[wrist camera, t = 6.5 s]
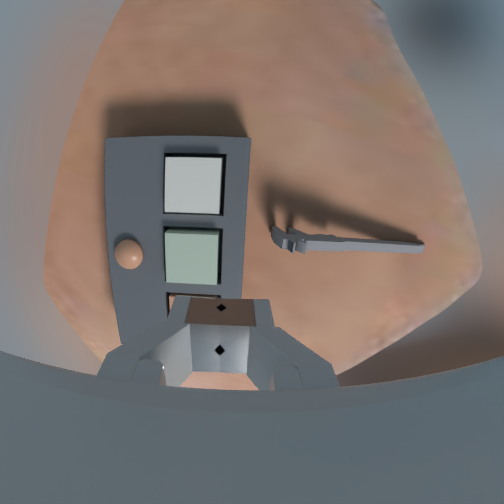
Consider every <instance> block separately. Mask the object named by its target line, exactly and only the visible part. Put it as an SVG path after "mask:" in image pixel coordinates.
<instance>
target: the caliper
mask: <svg viewBox="0 0 504 504" xmlns="http://www.w3.org/2000/svg"><path fill="white" fill-rule="evenodd" d="M271 237H272V240H273V242H274V243H275V244H276V245H278V246H279V247H280V248H281V249H288V250H289V251H290V252H292V253H294V251H295V250H296V251H299V252H301V253H304V254H305V252H306V250H313V251H344V250H350V251H373V252H396V253H420V252H423V251H424V247H425V245H424V244H417V243H410V242H400V241H386V240H371V239H357V238H342V237H336V236H334V235H323V234H315V235H308V234H306V233H303V232H301V231H299V230H296V229H294V228H290V227H287V233H285V232H284V231H282V230H281V229H279V228H278V227H277V226H272V230H271Z"/></svg>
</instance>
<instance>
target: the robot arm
mask: <svg viewBox="0 0 504 504" xmlns="http://www.w3.org/2000/svg"><path fill="white" fill-rule="evenodd" d="M192 371H200V372H219V371H220V372H225V373H243V374H247V376H248V377H249V378H250V379H251V381H252V382H253V383H254V384H255V386H256V387H257V388H258V389H259V390H260V391H249V390H217V389H199V388H186V387H179V386H180V385H181V384H182V383H183V382H184V381H185V380H186V379H187V378H188V376H189V375H190V374H191V373H192ZM0 504H504V356H503V357H499V358H496V359H493V360H489V361H486V362H482V363H478V364H475V365H471V366H467V367H463V368H459V369H455V370H450V371H445V372H441V373H436V374H431V375H425V376H420V377H414V378H409V379H403V380H396V381H389V382H383V383H375V384H367V385H358V386H348V387H340V386H339V383H338V381H337V378H336V375H335V373H334V370H333V367H332V365H331V364H330V363H329V362H327V361H326V360H324V359H323V358H322V357H320V356H319V355H317V354H316V353H314V352H313V351H312V350H310V349H309V348H307V347H306V346H305V345H303V344H302V343H300V342H299V341H297V340H296V339H295V338H293V337H292V336H291V335H289V334H288V333H286V332H285V331H284V330H282V329H281V328H279V327H275V326H274V321H273V316H272V311H271V307H270V302H269V300H268V299H222V298H209V297H196V296H192V297H191V296H182V295H176V296H175V298H174V301H173V304H172V307H171V310H170V313H169V316H168V319H167V322H161V323H159V324H157V325H156V326H154V327H152V328H150V329H149V330H147V331H145V332H143V333H142V334H140V335H138V336H137V337H135V338H133V339H131V340H130V341H128V342H126V343H124V344H123V345H121V346H119V347H117V348H116V349H114V350H112V351H111V352H109V353H107V355H106V357H105V359H104V361H103V363H102V365H101V368H100V370H99V372H98V374H97V376H96V375H91V374H85V373H81V372H76V371H72V370H67V369H63V368H59V367H55V366H50V365H47V364H42V363H39V362H35V361H31V360H28V359H25V358H21V357H18V356H14V355H11V354H8V353H5V352H2V351H0Z"/></svg>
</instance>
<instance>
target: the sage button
mask: <svg viewBox="0 0 504 504" xmlns="http://www.w3.org/2000/svg"><path fill="white" fill-rule="evenodd" d="M219 234H220V228H200V227H173V226H170V227H169V229H168V230H167V231H166V232H165V259H166V282H170V283H188V284H207V285H217V279H218V266H219Z"/></svg>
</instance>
